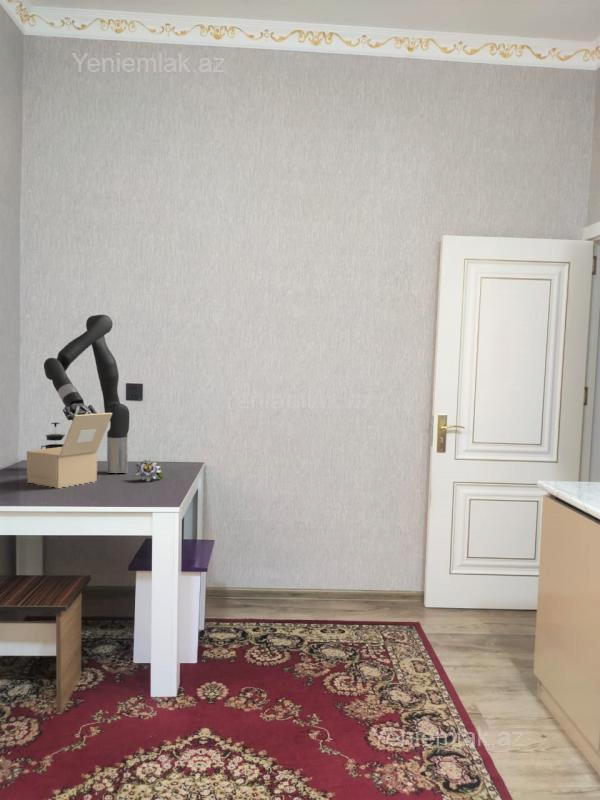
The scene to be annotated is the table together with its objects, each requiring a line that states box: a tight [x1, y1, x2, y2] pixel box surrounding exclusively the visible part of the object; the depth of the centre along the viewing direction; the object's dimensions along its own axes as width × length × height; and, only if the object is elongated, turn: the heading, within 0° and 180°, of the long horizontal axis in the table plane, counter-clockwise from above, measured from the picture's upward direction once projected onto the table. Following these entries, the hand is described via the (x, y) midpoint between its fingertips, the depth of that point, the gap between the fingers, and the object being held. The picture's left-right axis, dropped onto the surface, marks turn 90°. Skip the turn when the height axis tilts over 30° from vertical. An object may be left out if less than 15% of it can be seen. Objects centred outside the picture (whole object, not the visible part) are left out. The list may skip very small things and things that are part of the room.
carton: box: [26, 447, 98, 489], centre depth 282 cm, size 21×21×14 cm
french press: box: [40, 422, 66, 449], centre depth 315 cm, size 12×9×23 cm
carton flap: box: [60, 412, 112, 456], centre depth 273 cm, size 20×19×1 cm
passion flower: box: [134, 458, 164, 482], centre depth 291 cm, size 11×11×12 cm
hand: (88, 425), depth 272 cm, fingers open, 8 cm apart
